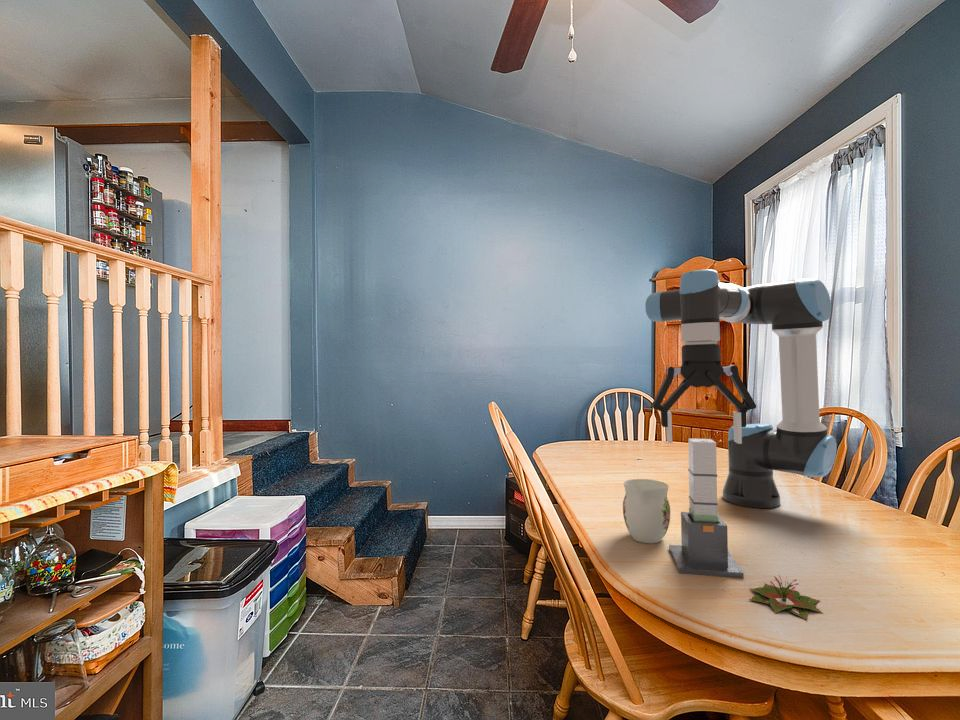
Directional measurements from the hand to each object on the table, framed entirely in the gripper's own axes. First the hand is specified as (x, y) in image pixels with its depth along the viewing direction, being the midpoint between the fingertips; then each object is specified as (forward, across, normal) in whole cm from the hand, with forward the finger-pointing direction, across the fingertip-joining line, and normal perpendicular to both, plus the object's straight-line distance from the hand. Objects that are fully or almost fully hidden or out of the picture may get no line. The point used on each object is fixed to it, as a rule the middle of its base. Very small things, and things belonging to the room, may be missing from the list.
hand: (703, 442), depth 100 cm
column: (+17, +1, +1) cm, 18 cm away
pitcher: (+26, +11, -12) cm, 31 cm away
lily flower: (+26, -10, +15) cm, 32 cm away
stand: (+26, +1, +1) cm, 26 cm away
